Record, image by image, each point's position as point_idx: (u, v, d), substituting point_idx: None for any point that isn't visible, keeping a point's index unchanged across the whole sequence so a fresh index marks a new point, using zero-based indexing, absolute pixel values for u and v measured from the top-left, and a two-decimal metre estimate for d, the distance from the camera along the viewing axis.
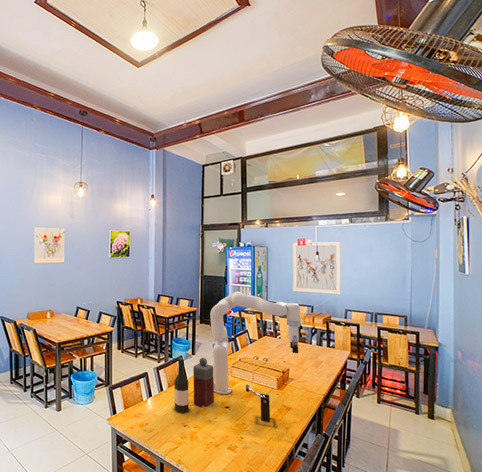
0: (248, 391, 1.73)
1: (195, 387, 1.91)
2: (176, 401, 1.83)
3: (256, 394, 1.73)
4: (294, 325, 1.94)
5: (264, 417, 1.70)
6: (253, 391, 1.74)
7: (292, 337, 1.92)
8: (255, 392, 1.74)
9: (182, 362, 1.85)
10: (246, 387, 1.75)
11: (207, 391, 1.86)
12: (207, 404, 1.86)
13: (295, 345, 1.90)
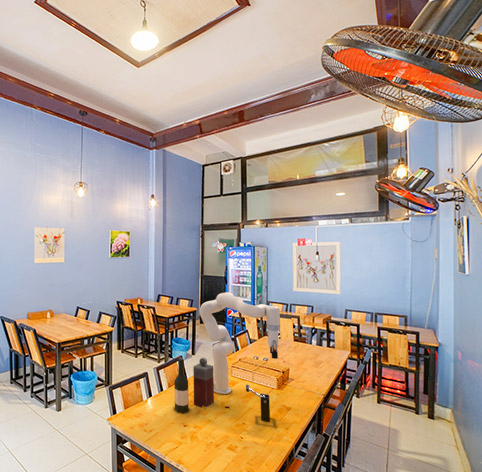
0: (248, 391, 1.73)
1: (195, 387, 1.91)
2: (176, 401, 1.83)
3: (256, 394, 1.73)
4: (274, 329, 1.84)
5: (264, 417, 1.70)
6: (253, 391, 1.74)
7: (271, 342, 1.83)
8: (255, 392, 1.74)
9: (182, 362, 1.85)
10: (246, 387, 1.75)
11: (207, 391, 1.86)
12: (207, 404, 1.86)
13: (274, 350, 1.81)
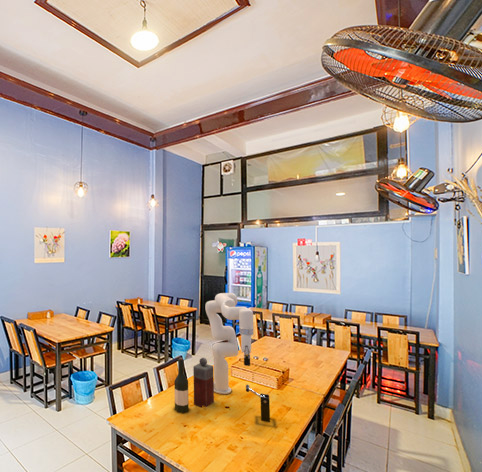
0: (248, 391, 1.73)
1: (195, 387, 1.91)
2: (176, 401, 1.83)
3: (256, 394, 1.73)
4: (246, 334, 1.74)
5: (264, 417, 1.70)
6: (253, 391, 1.74)
7: (244, 347, 1.73)
8: (255, 392, 1.74)
9: (182, 362, 1.85)
10: (246, 387, 1.75)
11: (207, 391, 1.86)
12: (207, 404, 1.86)
13: (246, 357, 1.72)
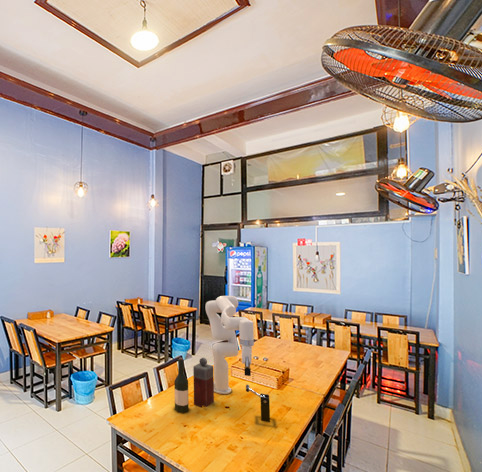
0: (248, 391, 1.73)
1: (195, 387, 1.91)
2: (176, 401, 1.83)
3: (256, 394, 1.73)
4: (246, 345, 1.73)
5: (264, 417, 1.70)
6: (253, 391, 1.74)
7: (244, 358, 1.72)
8: (255, 392, 1.74)
9: (182, 362, 1.85)
10: (246, 387, 1.75)
11: (207, 391, 1.86)
12: (207, 404, 1.86)
13: (247, 367, 1.74)
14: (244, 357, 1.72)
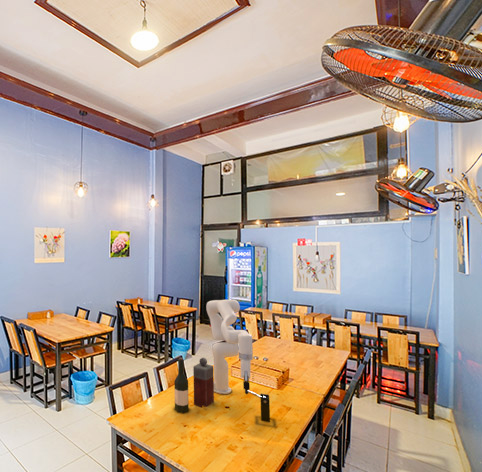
0: (247, 393, 1.73)
1: (195, 387, 1.91)
2: (176, 401, 1.83)
3: (256, 395, 1.73)
4: (245, 359, 1.73)
5: (264, 417, 1.70)
6: (252, 392, 1.74)
7: (243, 372, 1.72)
8: (254, 393, 1.74)
9: (182, 362, 1.85)
10: (245, 389, 1.75)
11: (207, 391, 1.86)
12: (207, 404, 1.86)
13: (246, 381, 1.74)
14: (243, 371, 1.72)
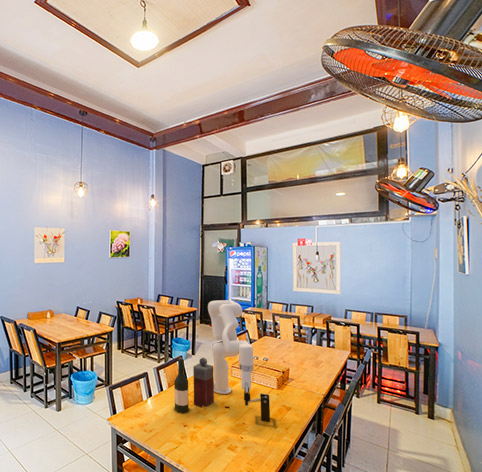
0: (247, 404, 1.72)
1: (195, 387, 1.91)
2: (176, 401, 1.83)
3: (256, 401, 1.73)
4: (246, 370, 1.73)
5: (264, 417, 1.70)
6: (252, 400, 1.74)
7: (243, 384, 1.72)
8: (254, 400, 1.74)
9: (182, 362, 1.85)
10: None
11: (207, 391, 1.86)
12: (207, 404, 1.86)
13: (246, 392, 1.73)
14: (244, 382, 1.72)
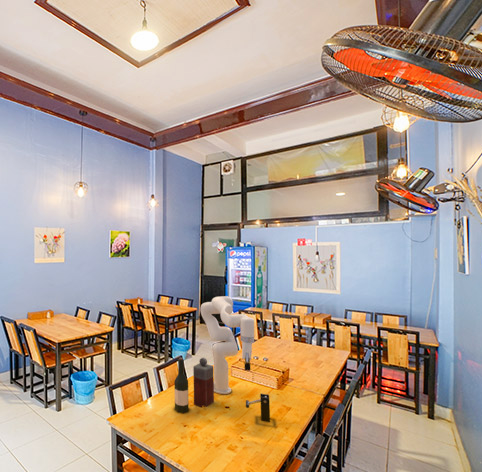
0: (248, 406, 1.72)
1: (195, 387, 1.91)
2: (176, 401, 1.83)
3: (256, 402, 1.73)
4: (247, 341, 1.80)
5: (264, 417, 1.70)
6: (252, 402, 1.74)
7: (244, 354, 1.79)
8: (254, 401, 1.74)
9: (182, 362, 1.85)
10: None
11: (207, 391, 1.86)
12: (207, 404, 1.86)
13: (247, 362, 1.81)
14: (244, 353, 1.79)
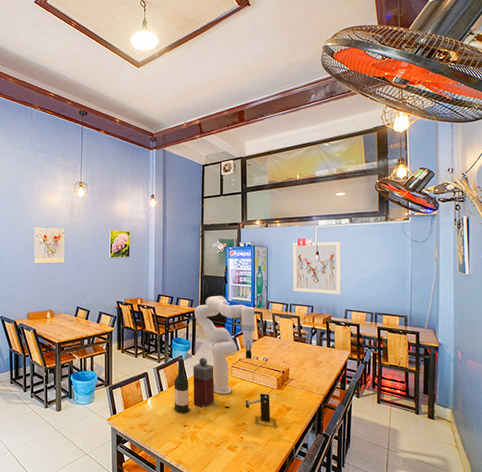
0: (248, 406, 1.72)
1: (195, 387, 1.91)
2: (176, 401, 1.83)
3: (256, 402, 1.73)
4: (248, 330, 1.86)
5: (264, 417, 1.70)
6: (252, 402, 1.74)
7: (245, 342, 1.85)
8: (254, 401, 1.74)
9: (182, 362, 1.85)
10: None
11: (207, 391, 1.86)
12: (207, 404, 1.86)
13: None
14: (245, 341, 1.85)
